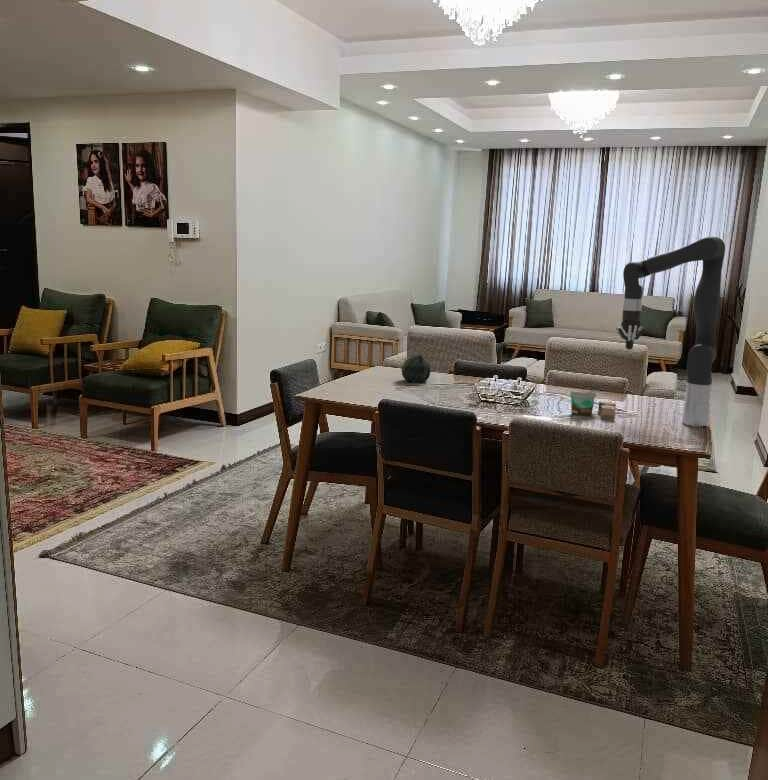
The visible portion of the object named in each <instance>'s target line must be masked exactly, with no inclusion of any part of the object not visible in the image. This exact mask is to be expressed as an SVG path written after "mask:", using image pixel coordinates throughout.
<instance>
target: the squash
mask: <svg viewBox="0 0 768 780" xmlns="http://www.w3.org/2000/svg"><path fill="white" fill-rule="evenodd" d="M431 369H432V367H431V365H430V362H429V361H428V360H427V359H426V358H425V357H424V356H423V355H422V354H417V355H414V356H412V357H409V358H408V359H406V360H405V361H404V363H403V365H402V367H401V375H402V378H403V379H404V381H405V380H406V381H407V380H410V381H409V382H417V381H419V382H418V383H424V382H423V381H425V382H427V381H428V379H429V378H430V376H431V371H432V370H431Z"/></svg>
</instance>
